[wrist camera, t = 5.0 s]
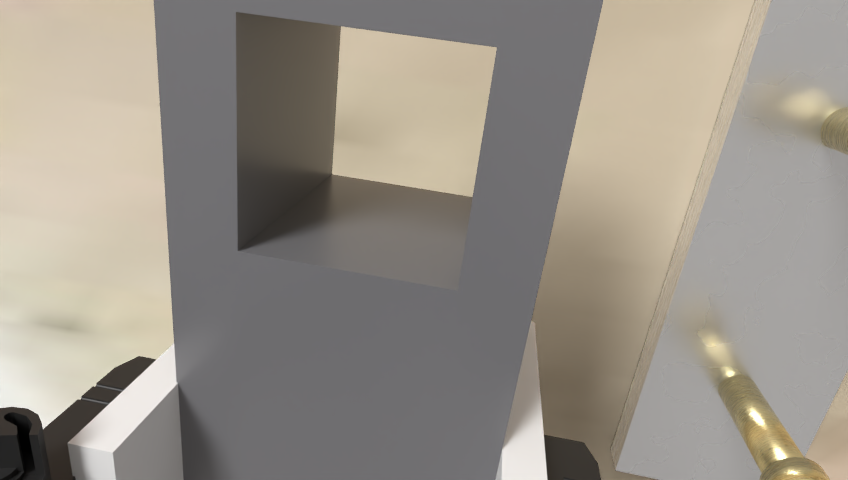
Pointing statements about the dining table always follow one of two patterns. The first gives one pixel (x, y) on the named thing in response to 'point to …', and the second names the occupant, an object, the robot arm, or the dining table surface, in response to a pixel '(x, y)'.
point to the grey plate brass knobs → (755, 270)
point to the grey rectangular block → (352, 241)
